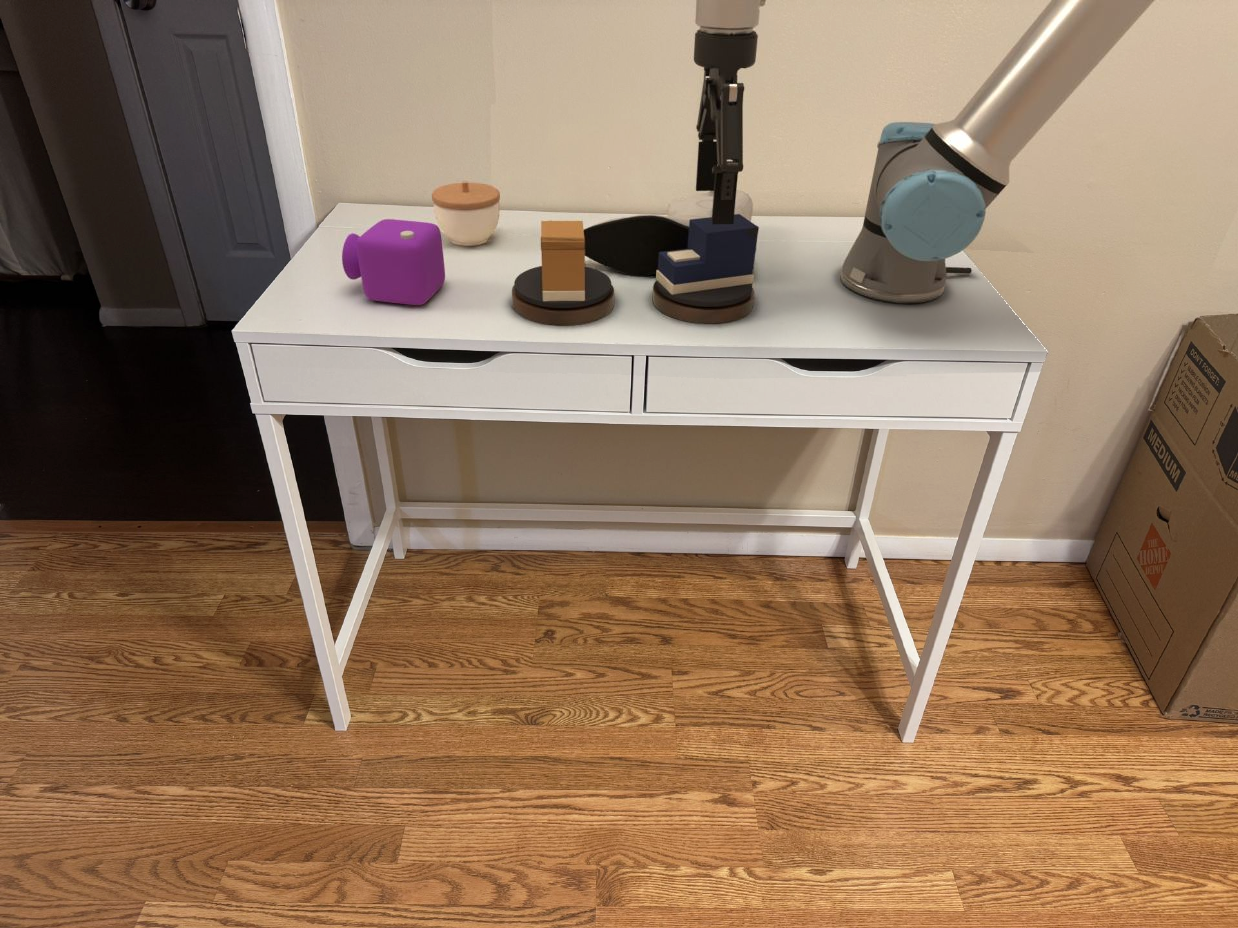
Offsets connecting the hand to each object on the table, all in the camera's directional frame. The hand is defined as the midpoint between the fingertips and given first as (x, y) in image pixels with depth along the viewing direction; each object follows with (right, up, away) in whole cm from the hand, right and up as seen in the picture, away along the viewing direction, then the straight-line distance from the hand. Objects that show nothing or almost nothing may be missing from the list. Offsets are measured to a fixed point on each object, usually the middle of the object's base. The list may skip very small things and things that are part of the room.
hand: (713, 206), depth 112 cm
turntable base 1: (-21, -12, +7) cm, 25 cm away
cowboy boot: (-4, 0, +25) cm, 25 cm away
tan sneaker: (-21, -10, +5) cm, 23 cm away
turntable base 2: (-1, -11, +8) cm, 14 cm away
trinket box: (-37, +2, +26) cm, 45 cm away
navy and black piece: (-1, -9, +7) cm, 12 cm away
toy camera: (-45, -10, +8) cm, 47 cm away
